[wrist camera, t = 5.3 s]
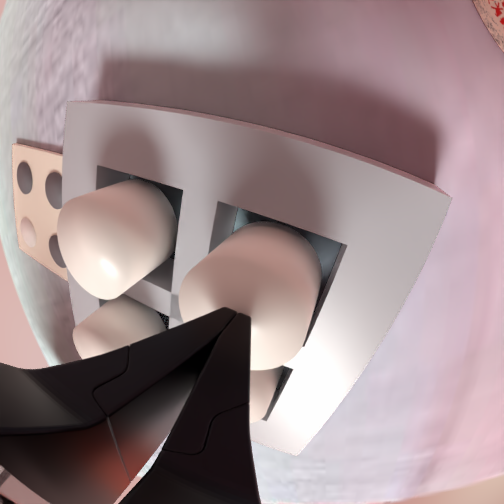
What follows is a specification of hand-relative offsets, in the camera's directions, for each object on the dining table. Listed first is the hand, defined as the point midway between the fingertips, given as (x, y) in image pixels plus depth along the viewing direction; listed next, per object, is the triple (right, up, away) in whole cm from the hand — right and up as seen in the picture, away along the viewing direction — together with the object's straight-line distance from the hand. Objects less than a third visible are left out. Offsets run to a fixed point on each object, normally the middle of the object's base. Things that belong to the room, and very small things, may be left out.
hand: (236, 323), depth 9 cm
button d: (-4, +3, +4) cm, 7 cm away
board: (-2, 0, +6) cm, 7 cm away
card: (-14, +5, +9) cm, 18 cm away
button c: (+1, +1, +3) cm, 3 cm away
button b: (-6, -2, +7) cm, 9 cm away
